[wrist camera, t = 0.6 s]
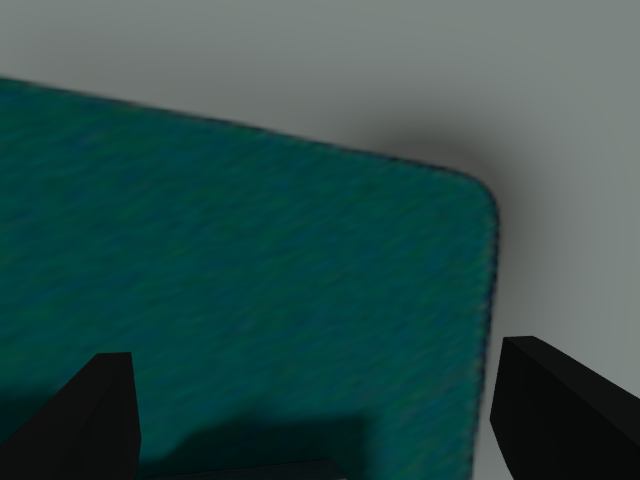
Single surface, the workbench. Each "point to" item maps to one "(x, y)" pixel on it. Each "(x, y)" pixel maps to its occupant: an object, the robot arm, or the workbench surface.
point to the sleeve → (269, 472)
